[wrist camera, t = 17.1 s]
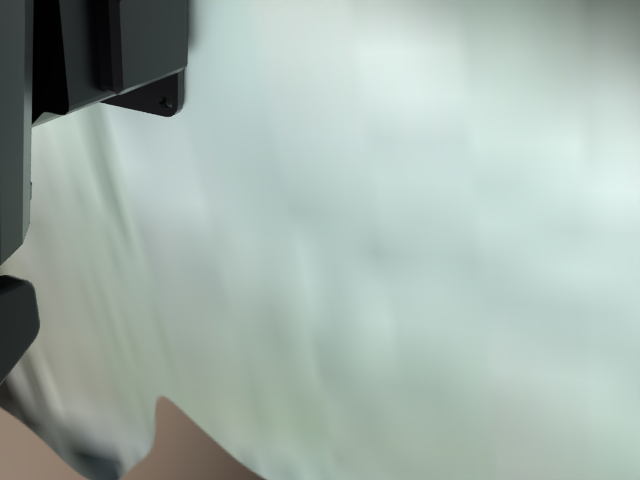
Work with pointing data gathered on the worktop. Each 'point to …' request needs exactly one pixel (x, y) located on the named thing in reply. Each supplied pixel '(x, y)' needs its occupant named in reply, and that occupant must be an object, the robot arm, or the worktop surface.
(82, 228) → the worktop surface
